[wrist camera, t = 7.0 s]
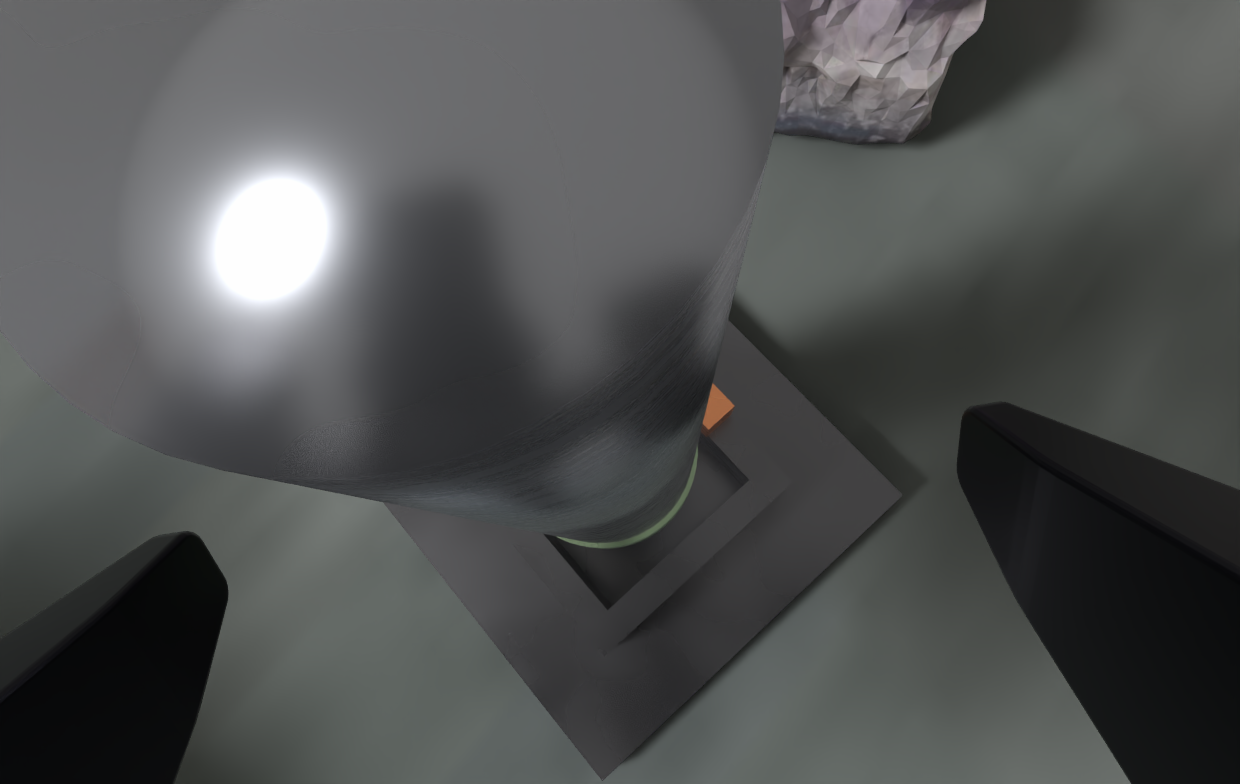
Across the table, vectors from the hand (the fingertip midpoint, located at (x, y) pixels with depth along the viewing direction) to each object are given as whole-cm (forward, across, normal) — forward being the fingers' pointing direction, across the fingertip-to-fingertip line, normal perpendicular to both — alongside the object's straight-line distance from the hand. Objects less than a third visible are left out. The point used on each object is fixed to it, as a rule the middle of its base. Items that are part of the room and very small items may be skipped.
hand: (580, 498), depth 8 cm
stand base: (+9, 0, +7) cm, 11 cm away
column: (+6, 0, +4) cm, 7 cm away
